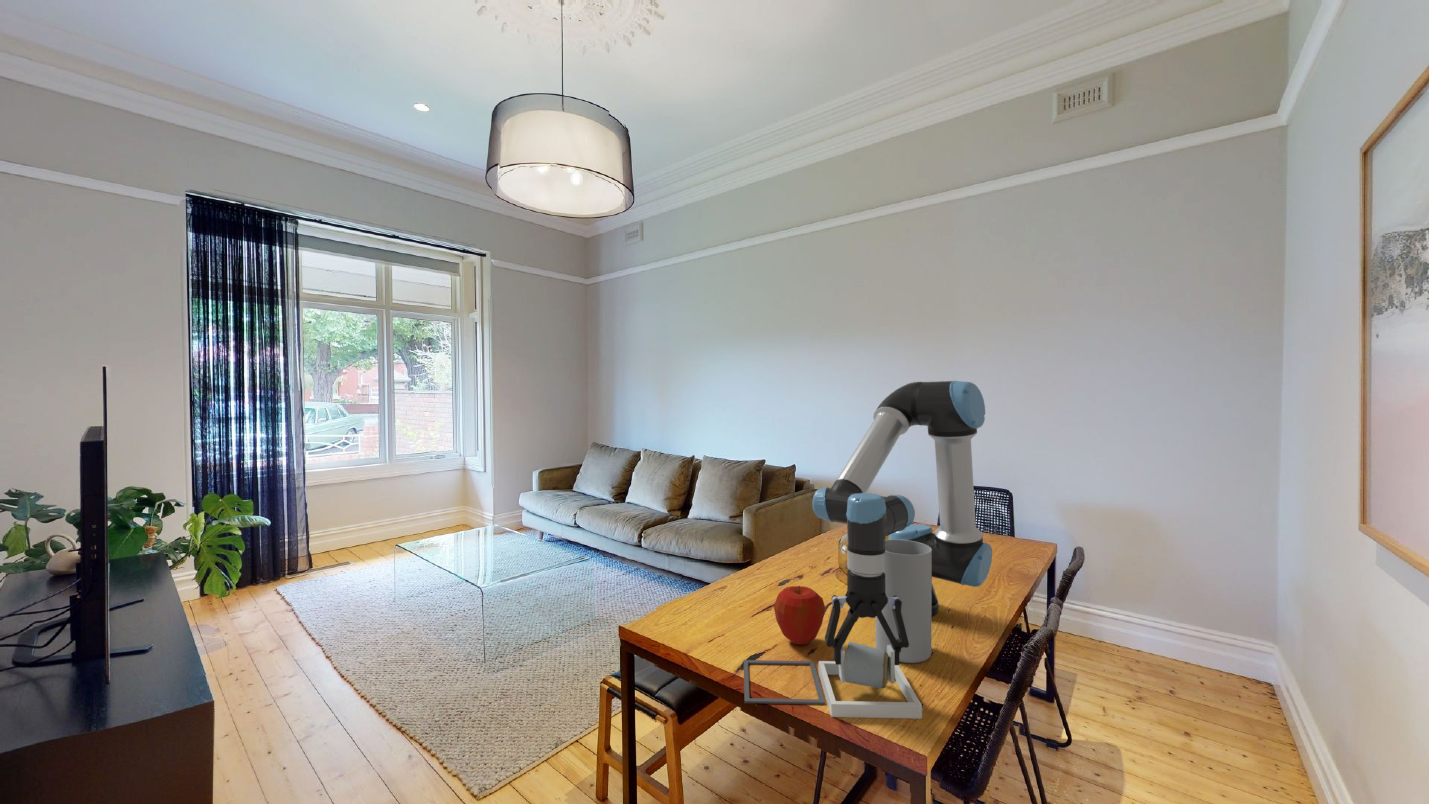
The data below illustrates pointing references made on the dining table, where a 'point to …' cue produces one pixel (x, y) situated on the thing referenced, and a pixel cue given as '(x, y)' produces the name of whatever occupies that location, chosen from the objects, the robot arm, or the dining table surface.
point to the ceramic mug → (866, 665)
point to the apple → (799, 613)
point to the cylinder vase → (908, 597)
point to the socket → (870, 708)
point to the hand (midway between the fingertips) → (866, 679)
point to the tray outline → (782, 701)
